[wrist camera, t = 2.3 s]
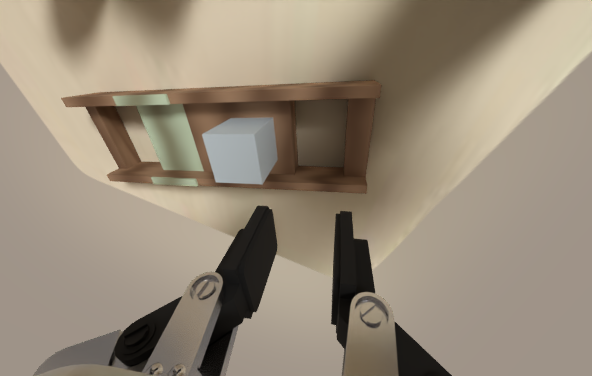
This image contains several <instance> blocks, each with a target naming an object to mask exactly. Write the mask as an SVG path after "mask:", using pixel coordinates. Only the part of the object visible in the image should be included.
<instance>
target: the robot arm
mask: <svg viewBox="0 0 592 376" xmlns="http://www.w3.org/2000/svg"><path fill="white" fill-rule="evenodd" d="M276 252H277V239H276V232H275V225H274V218H273V212H272V209H269V207H268V206H257V207H256V209H255V211H254V213H253V214H252V216H251V218H250V220H249V222H248V223H247V225H246V227H245V229H241V230H240V231H239V232H238V234H237V235H236V237H235V239H234V240H233V242H232V244H231V246H230V247H229V249H228V251H227V252H226V254H225V256H224V257H223V259H222V261H221V263H220V264H219V266H218V268H217V269H216V271H215V272H206V273H203V274H201V275H199V276H197V277H196V278H195V279H194V280H192V282H191V283H190V284H189V286H188V287H187V289H186V291H185V292H184V295H183V296H182V297H180V298H178V299H176V300H174V301H172V302H170V303H168V304H167V305H165V306H163V307H161V308H159V309H158V310H155V311H154V312H152V313H150V314H148V315H146V316H144V317H143V318H140V319H139V320H137V321H135V322H134V323H132V324H131V325H130V326H129V327H128V328H126V330H124V331H123V332H122V331H121V330H117V331H114V332H112V333H109V334H106V335H103V336H100V337H97V338H94V339H91V340H88V341H85V342H82V343H79V344H76V345H74V346H70V347H68V348H65V349H63V350H61V351H58V352H56V353H55V354H54V355H52V356H51V357H49V358H48V359H47V360H46V361H45V362H44V363H43V364H42V365H41V366H40V367H39V368H38V369H37V371H36V372H35V374H34V375H33V376H225V375H226V371H227V367H228V363H229V360H230V356H231V352H232V348H233V345H234V341H235V337H236V333H237V330H238V325H239V324H241V323H242V322H243V319H244V318H250V319H251V317H252V314H253V312H256V311H257V309H258V307H259V304H260V301H261V298H262V295H263V291H264V288H265V285H266V282H267V279H268V276H269V273H270V270H271V267H272V264H273V261H274V258H275V255H276ZM331 321H332V322H331V324H333V325H336V333H337V340H338V341H339V343H340V344H341V345H342V346H343V348H344V359H343V368H342V376H452V375H451V374H449V373H448V372H447V371H446V370H445V369H444V368H443V367H442V366H441V365H440V364H439V363H438V362H437V361H436V360H435V359H434V358H433V357H432V356H430V355H429V354H428V353H427V352H426V351H425V350H424V349H423V348H422V347H421V346H420V345H419V344H418V343H417V342H416V341H415V340H414V339H413V338H412V337H410V336H409V335H408V334H407V333H406V332H405V331H404V330H403V329H402V328H401V327H400V326H399V325H398V324H397V323H396V322H395V321H394V315H393V311H392V309H391V307H390V305H389V304H388V303H387V302H386V301H385V299H383V298H382V297H381V296H379V295H377V294H375V288H374V282H373V274H372V268H371V261H370V254H369V247H368V241H367V240H362V239H354V238H353V224H352V212H347V211H340V214H336V222H335V240H334V261H333V290H332V320H331Z"/></svg>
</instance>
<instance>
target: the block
mask: <svg viewBox="0 0 592 376" xmlns="http://www.w3.org/2000/svg"><path fill="white" fill-rule="evenodd" d="M202 137H203V140H204V144H205V147H206V151H207V154H208V157H209V161H210V164H211V168H212V171H213V174H214V178H215V181H216V182H218V183H241V184H263V183H264V181H265V179H266V178H267V176H268V175H269V173H270V171H271V170H272V168H273V166H274V165H275V163H276V162H277V160H278V158H277V148H276V139H275V130H274V121H273V117H272V118H230V119H228V120H227V121H225V122H223V123H221V124H219V125H218V126H216V127H214V128H212V129H210V130H209V131H207V132H205V133H203V134H202Z"/></svg>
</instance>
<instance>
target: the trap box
mask: <svg viewBox="0 0 592 376" xmlns="http://www.w3.org/2000/svg"><path fill="white" fill-rule="evenodd" d="M380 92H381V84H379V83H378V82H376V81H375V80H369V81H347V82H324V83H302V84H280V85H257V86H235V87H213V88H190V89H168V90H145V91H123V92H101V93H92V94H86V95H79V96H72V97H65V98H61V99H62V101H63V102H64V104H65V106H66V107H86V109H87V111H88V113H89V114H90V116H91V118H92V120H93V122H94V123H95V125H96V127H97V129H98V131H99V133H100V134H101V136H102V138H103V140H104V142H105V143H106V145H107V147H108V149H109V151H110V153H111V154H112V156H113V158H114V160H115V162H116V163H117V165H118V167H119V169H117V170H115V171H113V172H111V173H109V174H107V176H108V178H109V180H110V181H120V182H141V183H154V184H158V185H178V186H198V185H203V186H224V187H244V188H265V189H285V190H306V191H327V192H347V193H366V191H367V182H366V169H367V162H368V154H369V147H370V139H371V132H372V124H373V117H374V109H375V102H376V98H380ZM321 99H348V110H347V124H346V139H345V153H344V167H317V166H298V155H297V137H296V118H295V100H321ZM115 106H136V107H137V109H138V112H139V114H140V116H141V119H142V121H143V123H144V126H145V128H146V130H147V133H148V135H149V137H150V140H151V142H152V144H153V147H154V149H155V151H156V154H157V156H158V158H159V161H160V162H141V160H140V158H139V156H138V154H137V152H136V150H135V148H134V146H133V143H132V141H131V139H130V137H129V135H128V133H127V131H126V129H125V127H124V125H123V123H122V121H121V118H120V116H119V114H118V112H117V110H116V108H115ZM272 117H273V121H274V130H275V139H276V148H277V158H278V160H277V162H276V163H275V165H274V166H273V168H272V170H271V171H270V173H269V175H268V176H267V178H266V179H265V181H264V183H263V184H241V183H218V182H216V181H215V178H214V174H213V171H212V168H211V164H210V161H209V157H208V154H207V151H206V147H205V144H204V140H203V137H202V134H203V133H205V132H207V131H209V130H210V129H212V128H214V127H216V126H218V125H219V124H221V123H223V122H225V121H227V120H228V119H230V118H272Z"/></svg>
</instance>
